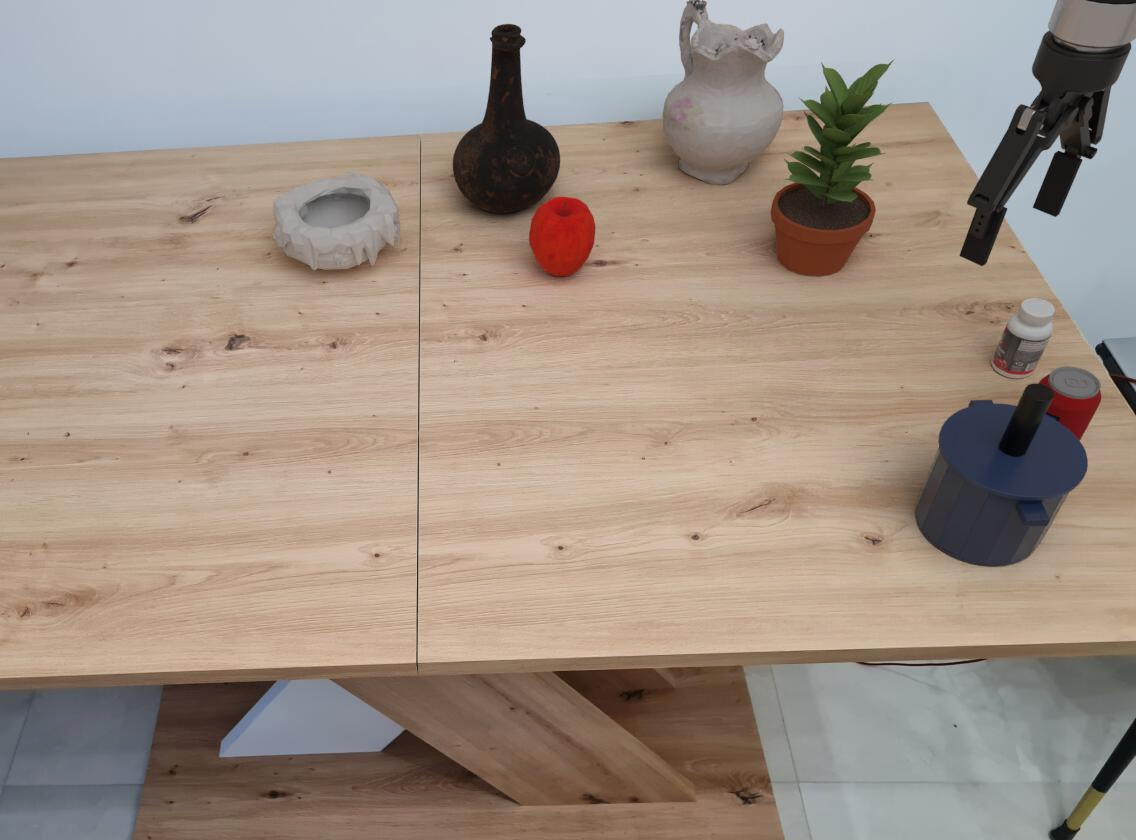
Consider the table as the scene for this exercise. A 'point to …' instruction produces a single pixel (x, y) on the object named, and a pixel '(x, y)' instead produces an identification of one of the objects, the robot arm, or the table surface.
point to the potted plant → (829, 181)
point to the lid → (1014, 448)
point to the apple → (562, 235)
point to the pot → (980, 518)
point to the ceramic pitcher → (722, 97)
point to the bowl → (336, 221)
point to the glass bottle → (506, 140)
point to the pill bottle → (1024, 339)
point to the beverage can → (1073, 397)
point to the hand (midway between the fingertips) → (1009, 235)
